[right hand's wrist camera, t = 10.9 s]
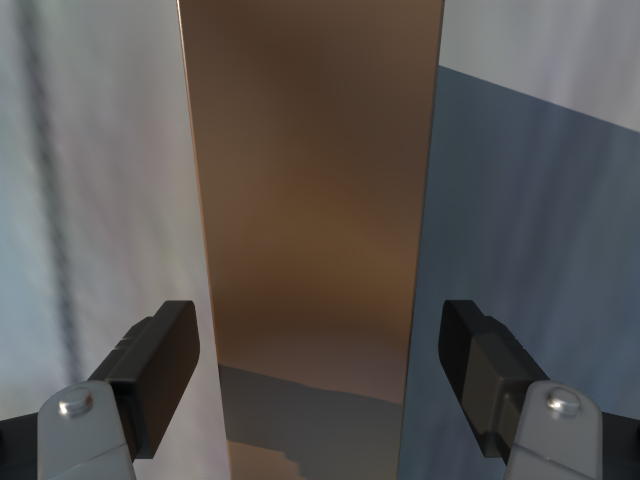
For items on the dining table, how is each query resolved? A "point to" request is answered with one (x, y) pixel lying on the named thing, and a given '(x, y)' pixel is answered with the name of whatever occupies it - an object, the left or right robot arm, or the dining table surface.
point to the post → (312, 221)
